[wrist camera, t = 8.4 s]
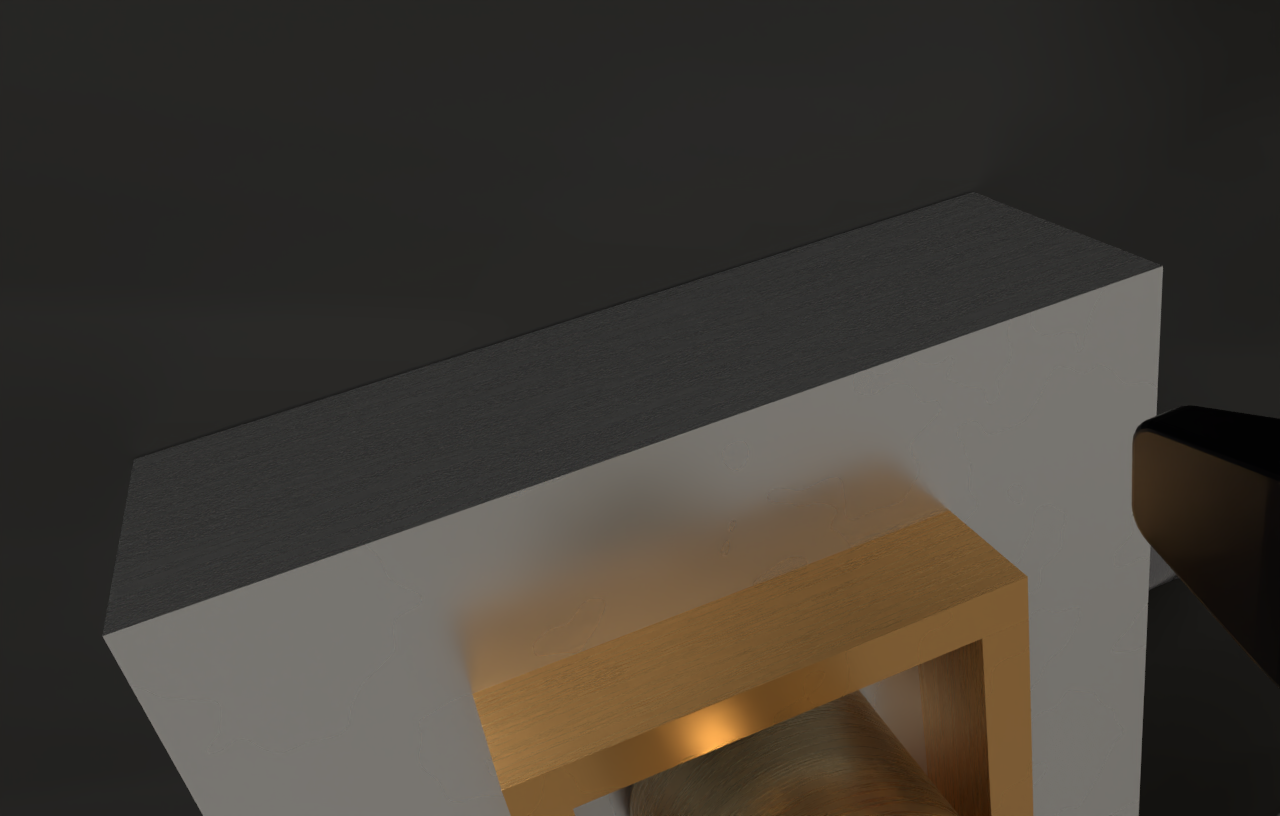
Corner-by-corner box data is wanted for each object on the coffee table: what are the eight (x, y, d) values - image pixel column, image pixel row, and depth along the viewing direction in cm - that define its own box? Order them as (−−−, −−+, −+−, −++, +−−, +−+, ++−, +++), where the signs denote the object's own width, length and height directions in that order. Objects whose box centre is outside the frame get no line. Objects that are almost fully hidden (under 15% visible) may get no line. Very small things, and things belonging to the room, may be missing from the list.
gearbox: (1102, 151, 22) (1436, 245, 16) (1095, 670, 28) (1327, 877, 22) (133, 459, 18) (84, 743, 12) (388, 976, 24) (439, 1327, 18)
